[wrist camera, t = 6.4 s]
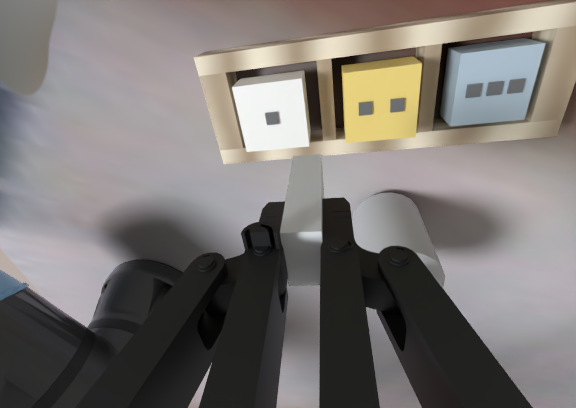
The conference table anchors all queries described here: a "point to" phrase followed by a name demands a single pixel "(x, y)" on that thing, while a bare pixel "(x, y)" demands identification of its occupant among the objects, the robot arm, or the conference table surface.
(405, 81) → the tile
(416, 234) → the can
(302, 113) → the tile
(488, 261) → the conference table surface
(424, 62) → the frame
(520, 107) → the tile
